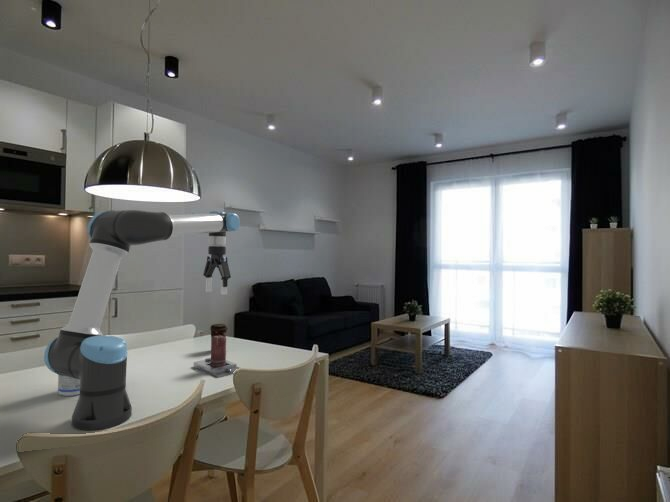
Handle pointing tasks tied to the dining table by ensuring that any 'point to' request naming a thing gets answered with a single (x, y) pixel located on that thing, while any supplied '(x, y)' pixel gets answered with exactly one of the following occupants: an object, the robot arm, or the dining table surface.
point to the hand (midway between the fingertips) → (216, 293)
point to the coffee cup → (218, 329)
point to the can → (218, 351)
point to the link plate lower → (221, 371)
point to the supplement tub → (68, 386)
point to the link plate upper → (207, 365)
